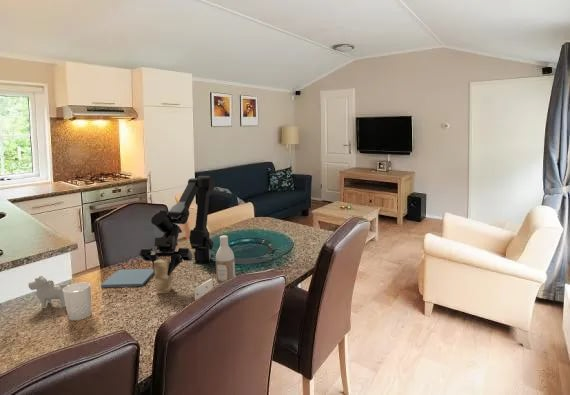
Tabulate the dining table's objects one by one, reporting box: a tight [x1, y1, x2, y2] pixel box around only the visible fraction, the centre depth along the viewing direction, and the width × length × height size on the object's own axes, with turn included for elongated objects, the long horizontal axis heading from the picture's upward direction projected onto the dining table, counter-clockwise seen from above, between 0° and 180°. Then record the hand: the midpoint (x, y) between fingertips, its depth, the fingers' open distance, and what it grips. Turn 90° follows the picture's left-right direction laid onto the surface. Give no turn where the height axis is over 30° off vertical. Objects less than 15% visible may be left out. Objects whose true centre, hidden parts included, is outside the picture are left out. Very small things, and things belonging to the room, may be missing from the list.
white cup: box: [63, 281, 93, 321], centre depth 122 cm, size 8×8×10 cm
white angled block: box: [194, 278, 214, 301], centre depth 127 cm, size 4×10×9 cm, turn 84°
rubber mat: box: [100, 268, 154, 288], centre depth 154 cm, size 16×16×1 cm
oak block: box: [154, 257, 173, 294], centre depth 140 cm, size 4×4×12 cm
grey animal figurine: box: [27, 275, 68, 309], centre depth 130 cm, size 5×13×11 cm, turn 93°
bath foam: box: [215, 234, 236, 285], centre depth 141 cm, size 7×7×20 cm
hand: (161, 275), depth 138 cm, fingers closed on oak block, 5 cm apart
